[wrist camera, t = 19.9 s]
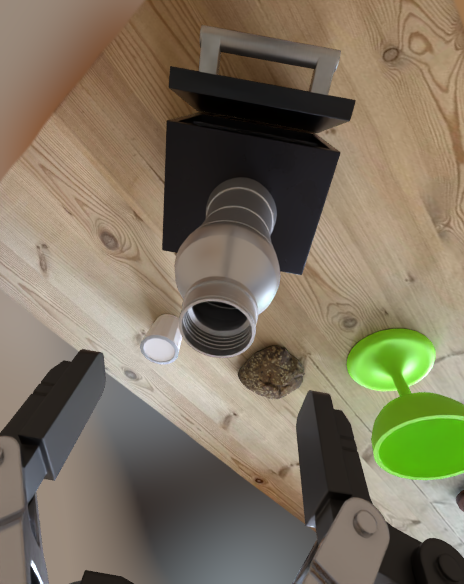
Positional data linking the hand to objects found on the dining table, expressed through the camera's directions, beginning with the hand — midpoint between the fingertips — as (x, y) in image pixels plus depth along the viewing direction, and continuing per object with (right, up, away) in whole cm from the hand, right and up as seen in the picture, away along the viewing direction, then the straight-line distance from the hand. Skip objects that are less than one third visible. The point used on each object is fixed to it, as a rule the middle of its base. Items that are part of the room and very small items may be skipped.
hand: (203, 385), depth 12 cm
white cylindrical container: (-11, -3, +48) cm, 50 cm away
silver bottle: (+2, +13, +20) cm, 23 cm away
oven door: (+5, +28, +27) cm, 40 cm away
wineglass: (+32, -9, +48) cm, 58 cm away
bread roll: (+10, -12, +52) cm, 55 cm away
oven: (+3, +20, +32) cm, 38 cm away
